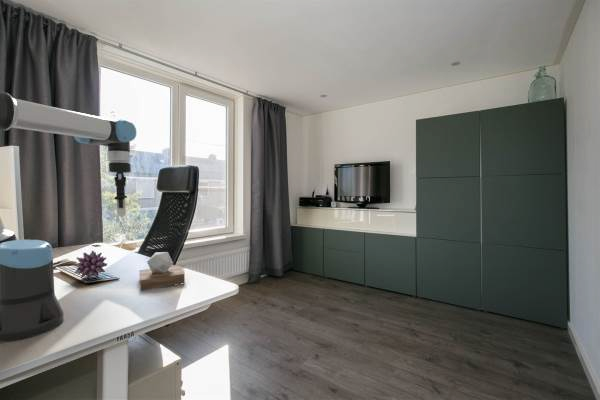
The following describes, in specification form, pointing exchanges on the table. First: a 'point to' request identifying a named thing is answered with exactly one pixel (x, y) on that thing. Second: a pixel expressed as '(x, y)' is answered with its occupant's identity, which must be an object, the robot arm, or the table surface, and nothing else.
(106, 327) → the table surface
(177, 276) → the plinth
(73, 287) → the table surface
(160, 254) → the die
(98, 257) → the purple spiky ball
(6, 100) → the robot arm
